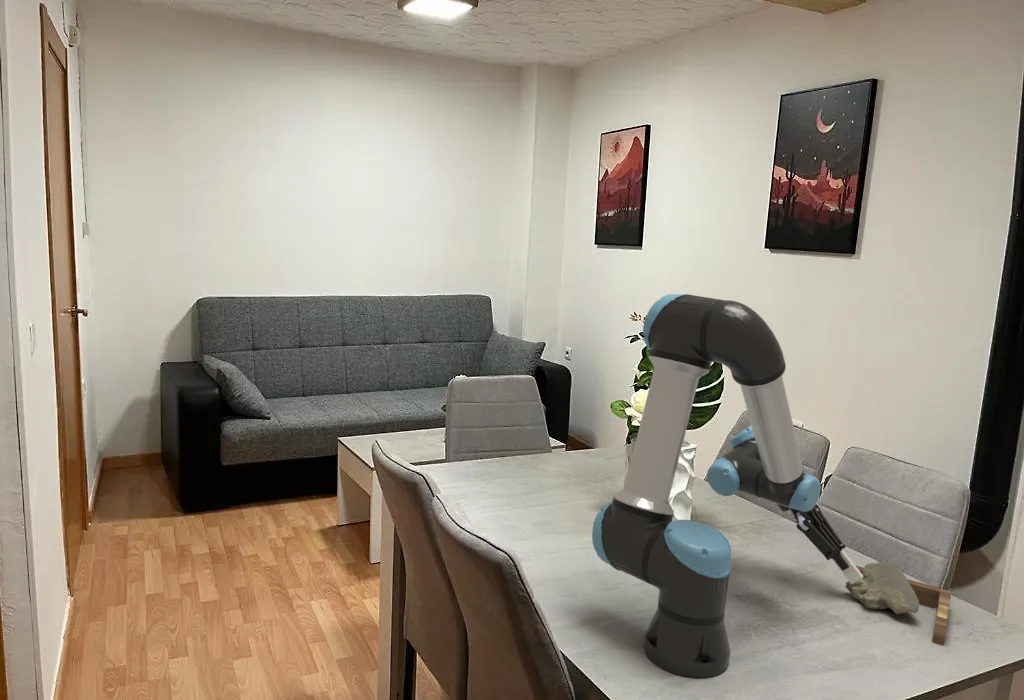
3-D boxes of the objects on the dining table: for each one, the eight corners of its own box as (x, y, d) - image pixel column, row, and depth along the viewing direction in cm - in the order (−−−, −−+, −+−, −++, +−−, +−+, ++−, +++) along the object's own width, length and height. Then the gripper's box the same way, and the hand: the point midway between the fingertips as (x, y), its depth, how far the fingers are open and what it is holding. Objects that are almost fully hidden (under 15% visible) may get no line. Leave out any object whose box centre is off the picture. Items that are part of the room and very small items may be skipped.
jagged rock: (874, 609, 169) (837, 592, 168) (893, 566, 170) (856, 548, 169) (918, 633, 155) (878, 614, 154) (939, 586, 156) (898, 566, 154)
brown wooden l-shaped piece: (943, 645, 149) (947, 625, 148) (839, 614, 158) (841, 595, 158) (948, 608, 164) (951, 589, 164) (852, 582, 174) (855, 564, 173)
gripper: (793, 486, 163) (868, 583, 157) (805, 471, 174) (876, 561, 168) (764, 504, 167) (837, 599, 161) (779, 489, 178) (847, 577, 172)
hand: (857, 580), depth 165 cm, fingers closed
